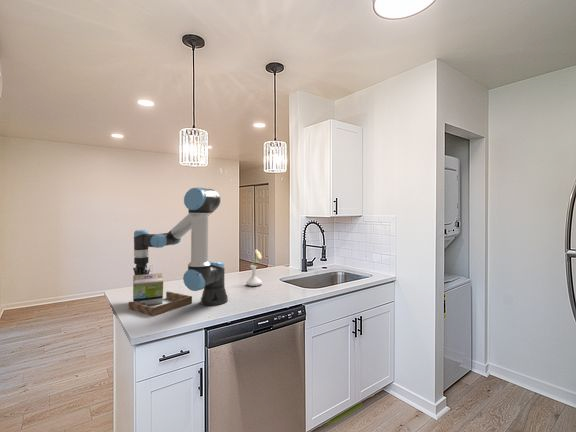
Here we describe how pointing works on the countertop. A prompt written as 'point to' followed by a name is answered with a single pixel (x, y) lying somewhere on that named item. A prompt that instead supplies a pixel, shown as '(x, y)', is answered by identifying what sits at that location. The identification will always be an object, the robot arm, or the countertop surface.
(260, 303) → the countertop surface
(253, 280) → the flower in vase
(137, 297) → the tea box
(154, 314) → the walnut bay
